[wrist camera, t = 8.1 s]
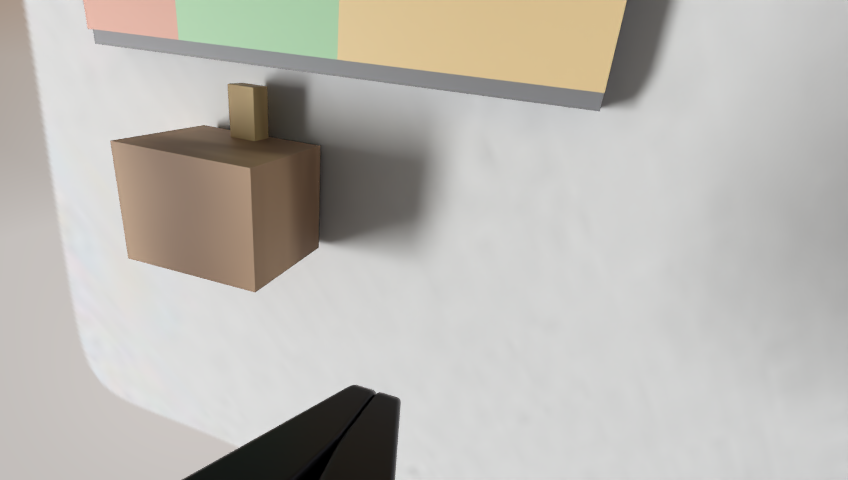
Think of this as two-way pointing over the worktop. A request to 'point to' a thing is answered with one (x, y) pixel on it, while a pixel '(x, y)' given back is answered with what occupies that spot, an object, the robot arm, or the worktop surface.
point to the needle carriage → (220, 196)
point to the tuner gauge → (390, 40)
